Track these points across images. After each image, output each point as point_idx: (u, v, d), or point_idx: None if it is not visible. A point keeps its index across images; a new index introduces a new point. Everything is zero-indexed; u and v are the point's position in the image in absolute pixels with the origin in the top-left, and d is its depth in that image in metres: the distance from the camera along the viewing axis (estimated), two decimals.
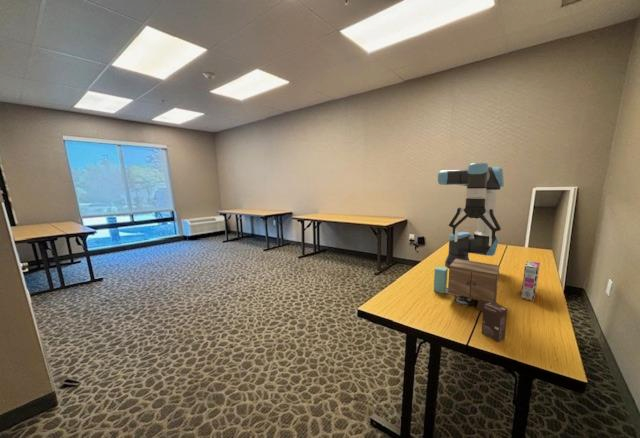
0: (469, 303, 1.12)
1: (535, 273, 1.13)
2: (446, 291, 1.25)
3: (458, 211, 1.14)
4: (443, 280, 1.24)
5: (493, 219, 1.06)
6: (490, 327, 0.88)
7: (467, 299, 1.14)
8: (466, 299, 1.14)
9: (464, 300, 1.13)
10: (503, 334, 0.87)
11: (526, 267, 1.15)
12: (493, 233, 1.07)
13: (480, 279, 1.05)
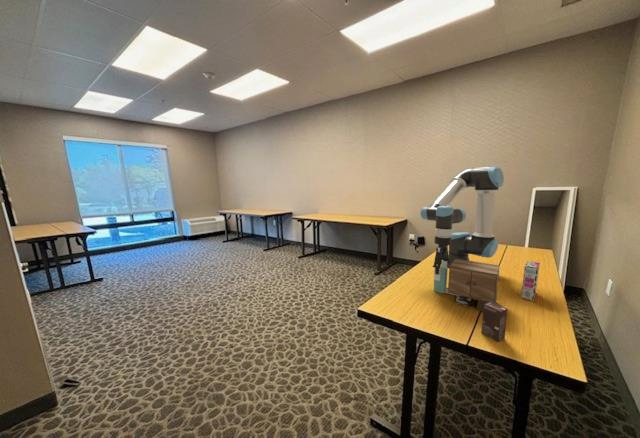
0: (469, 303, 1.12)
1: (535, 273, 1.13)
2: (446, 291, 1.25)
3: None
4: (443, 280, 1.24)
5: None
6: (490, 327, 0.88)
7: (467, 299, 1.14)
8: (466, 299, 1.14)
9: (464, 300, 1.13)
10: (503, 334, 0.87)
11: (526, 267, 1.15)
12: None
13: (480, 279, 1.05)
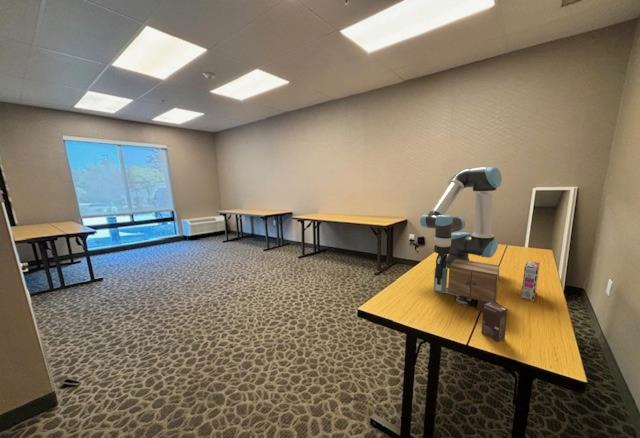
0: (469, 303, 1.12)
1: (535, 273, 1.13)
2: (446, 291, 1.25)
3: None
4: (443, 280, 1.24)
5: None
6: (490, 327, 0.88)
7: (467, 299, 1.14)
8: (466, 299, 1.14)
9: (464, 300, 1.13)
10: (503, 334, 0.87)
11: (526, 267, 1.15)
12: None
13: (480, 279, 1.05)
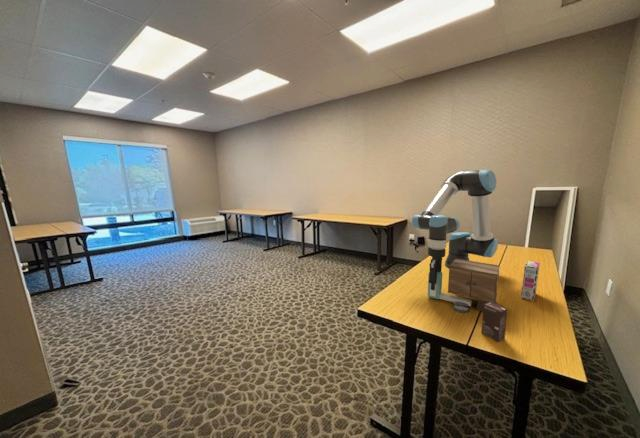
0: (467, 309, 1.06)
1: (535, 273, 1.13)
2: (441, 297, 1.16)
3: None
4: (437, 285, 1.15)
5: None
6: (490, 327, 0.88)
7: (465, 305, 1.08)
8: (464, 305, 1.08)
9: (462, 306, 1.07)
10: (503, 334, 0.87)
11: (526, 267, 1.15)
12: None
13: (480, 279, 1.05)
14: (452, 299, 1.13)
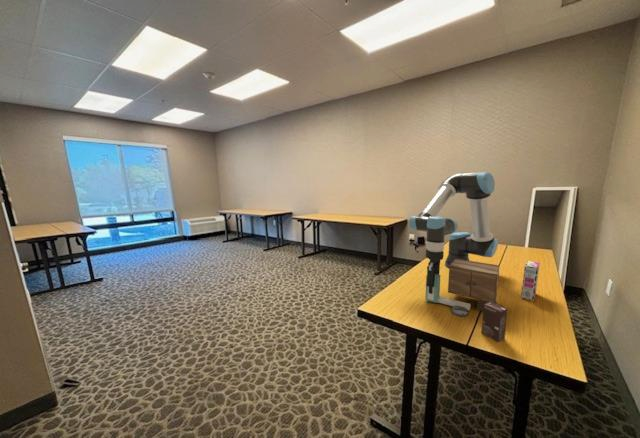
0: (466, 314, 1.03)
1: (535, 273, 1.13)
2: (439, 300, 1.13)
3: None
4: (435, 288, 1.12)
5: None
6: (490, 327, 0.88)
7: (464, 309, 1.05)
8: (462, 309, 1.05)
9: (461, 310, 1.04)
10: (503, 334, 0.87)
11: (526, 267, 1.15)
12: None
13: (480, 279, 1.05)
14: (450, 303, 1.10)
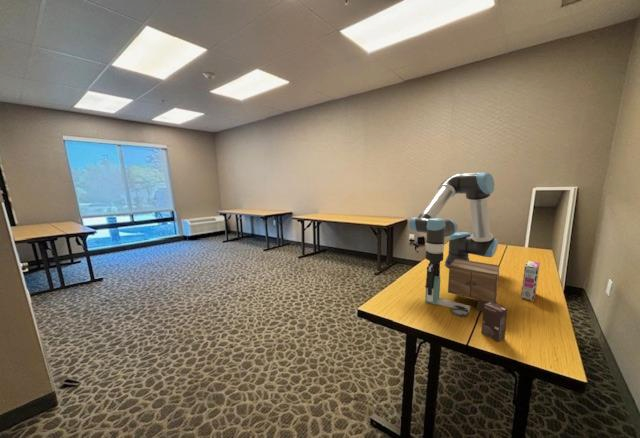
0: (466, 314, 1.03)
1: (535, 273, 1.13)
2: (439, 302, 1.13)
3: None
4: (435, 290, 1.12)
5: None
6: (490, 327, 0.88)
7: (464, 309, 1.05)
8: (462, 309, 1.05)
9: (461, 310, 1.04)
10: (503, 334, 0.87)
11: (526, 267, 1.15)
12: None
13: (480, 279, 1.05)
14: (450, 305, 1.10)
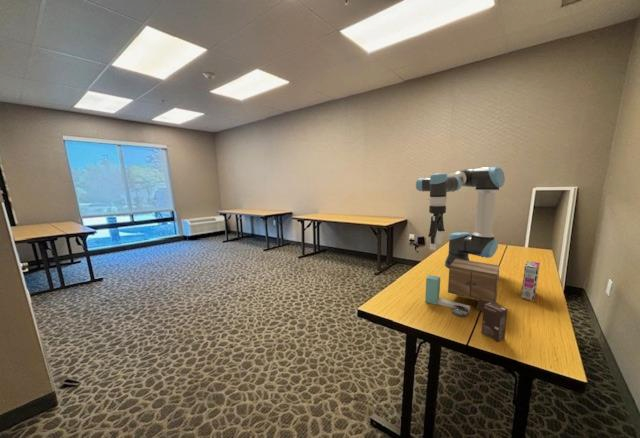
0: (467, 313, 1.03)
1: (535, 273, 1.13)
2: (439, 302, 1.13)
3: None
4: (435, 290, 1.12)
5: None
6: (490, 327, 0.88)
7: (464, 309, 1.05)
8: (462, 309, 1.05)
9: (461, 310, 1.04)
10: (503, 334, 0.87)
11: (526, 267, 1.15)
12: None
13: (480, 279, 1.05)
14: (450, 305, 1.10)
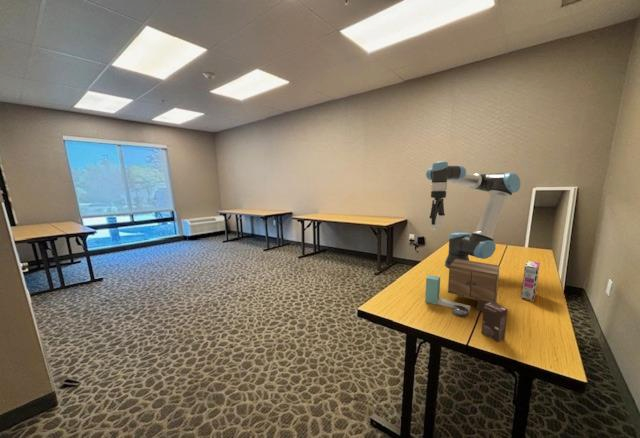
0: (467, 312, 1.03)
1: (535, 273, 1.13)
2: (439, 302, 1.13)
3: None
4: (435, 290, 1.12)
5: None
6: (490, 327, 0.88)
7: (463, 308, 1.05)
8: (462, 308, 1.05)
9: (462, 310, 1.04)
10: (503, 334, 0.87)
11: (526, 267, 1.15)
12: None
13: (480, 279, 1.05)
14: (450, 305, 1.10)
